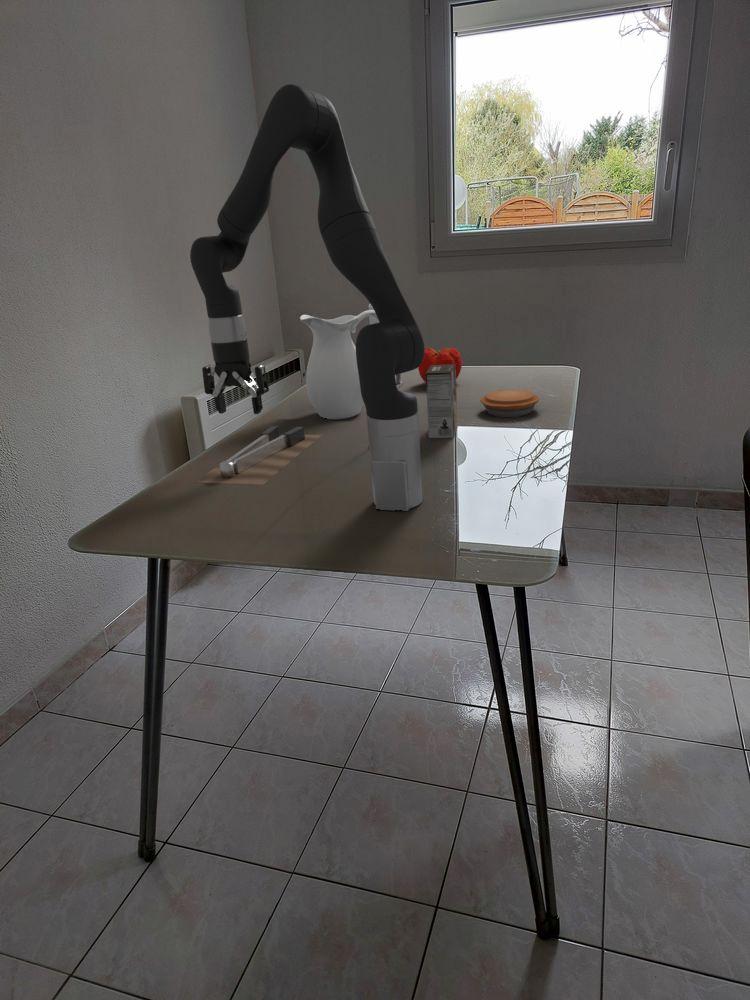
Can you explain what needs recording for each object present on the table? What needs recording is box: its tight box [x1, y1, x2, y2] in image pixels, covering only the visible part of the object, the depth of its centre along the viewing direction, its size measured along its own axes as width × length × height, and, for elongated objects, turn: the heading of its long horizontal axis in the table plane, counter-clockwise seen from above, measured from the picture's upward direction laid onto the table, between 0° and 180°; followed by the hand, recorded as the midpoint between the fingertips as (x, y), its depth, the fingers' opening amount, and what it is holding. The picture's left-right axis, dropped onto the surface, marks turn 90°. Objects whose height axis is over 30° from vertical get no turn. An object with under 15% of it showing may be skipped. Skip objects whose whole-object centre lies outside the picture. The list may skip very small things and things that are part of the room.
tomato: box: [417, 347, 463, 384], centre depth 211 cm, size 13×14×12 cm
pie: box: [479, 389, 540, 418], centre depth 177 cm, size 16×16×5 cm
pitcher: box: [299, 309, 380, 420], centre depth 184 cm, size 24×17×28 cm
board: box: [194, 433, 323, 486], centre depth 153 cm, size 34×16×2 cm, turn 163°
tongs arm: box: [233, 426, 306, 473], centre depth 153 cm, size 25×2×3 cm, turn 152°
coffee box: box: [425, 364, 459, 439], centre depth 162 cm, size 9×6×16 cm
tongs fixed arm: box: [219, 425, 280, 479], centre depth 153 cm, size 28×3×3 cm, turn 163°
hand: (240, 412), depth 146 cm, fingers open, 8 cm apart
